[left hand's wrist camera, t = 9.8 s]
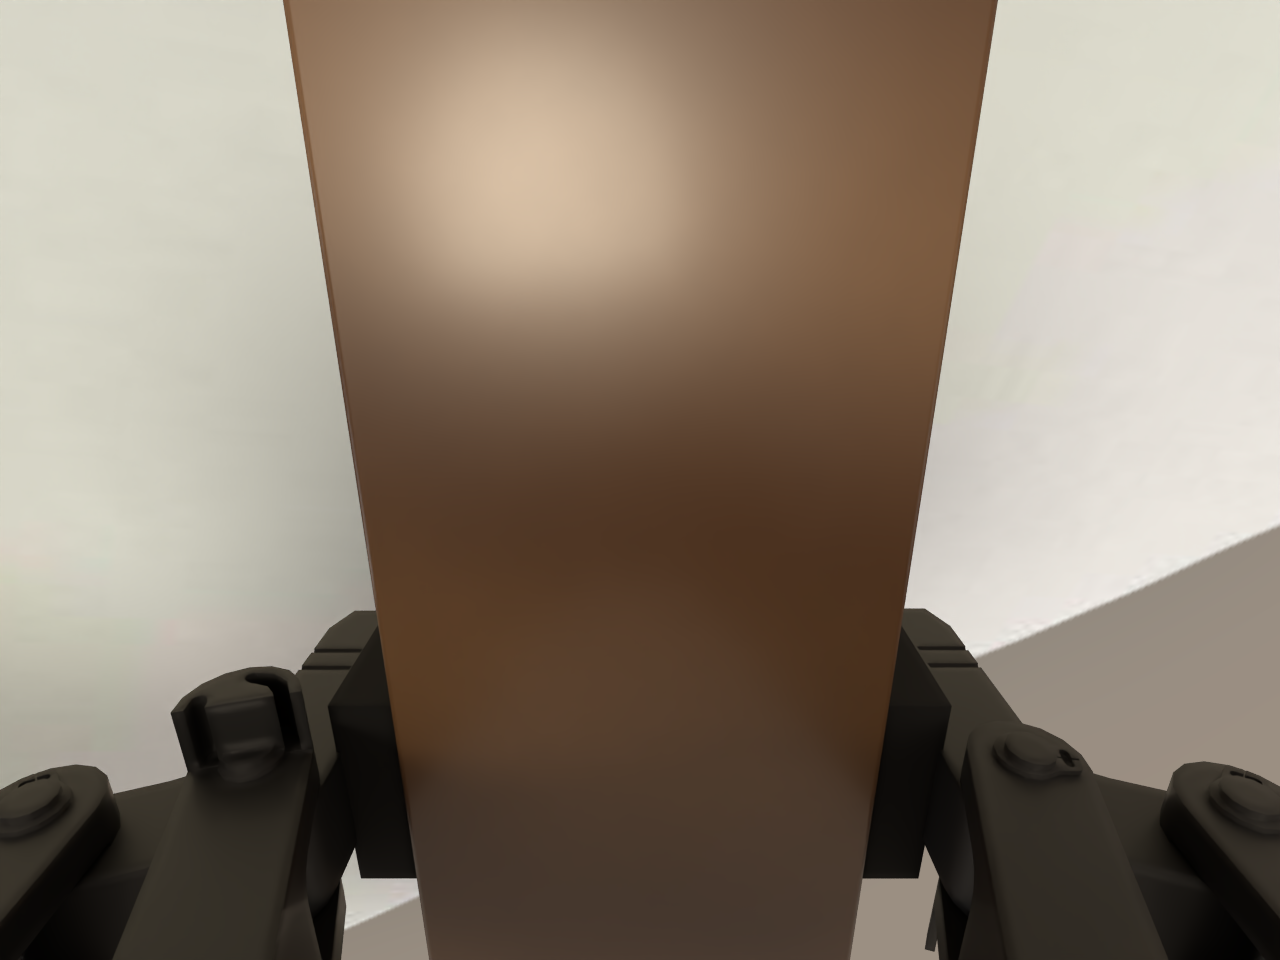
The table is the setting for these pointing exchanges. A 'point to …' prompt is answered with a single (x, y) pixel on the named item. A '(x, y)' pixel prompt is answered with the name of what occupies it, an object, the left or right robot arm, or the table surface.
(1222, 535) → the table surface
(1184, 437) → the table surface
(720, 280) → the beam
